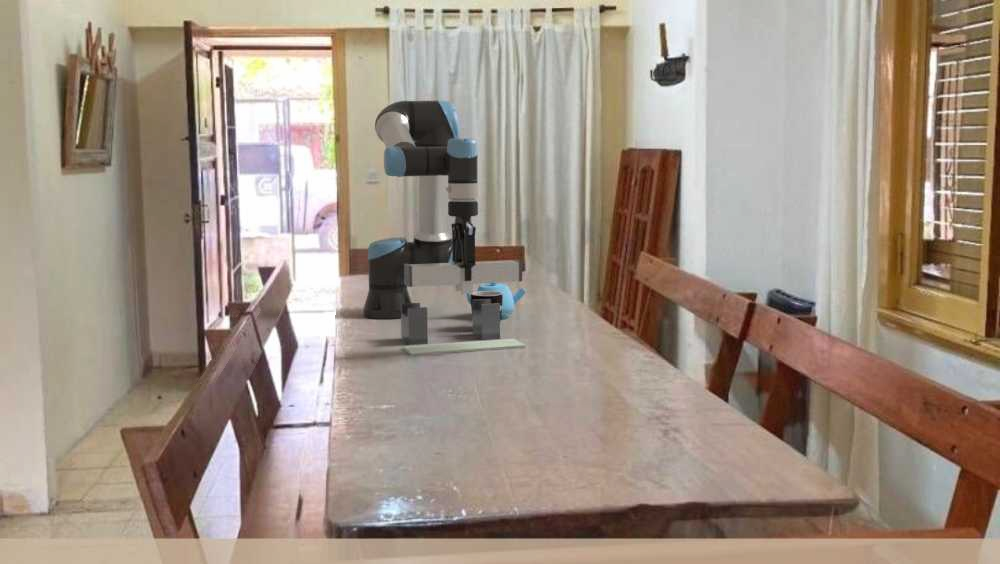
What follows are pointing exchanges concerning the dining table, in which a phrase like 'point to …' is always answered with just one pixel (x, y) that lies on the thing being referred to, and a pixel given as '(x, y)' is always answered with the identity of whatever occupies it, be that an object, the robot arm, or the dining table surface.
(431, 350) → the mat
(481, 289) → the teapot
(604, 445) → the dining table surface
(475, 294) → the mug
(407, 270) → the rail
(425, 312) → the post
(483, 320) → the post
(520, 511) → the dining table surface
